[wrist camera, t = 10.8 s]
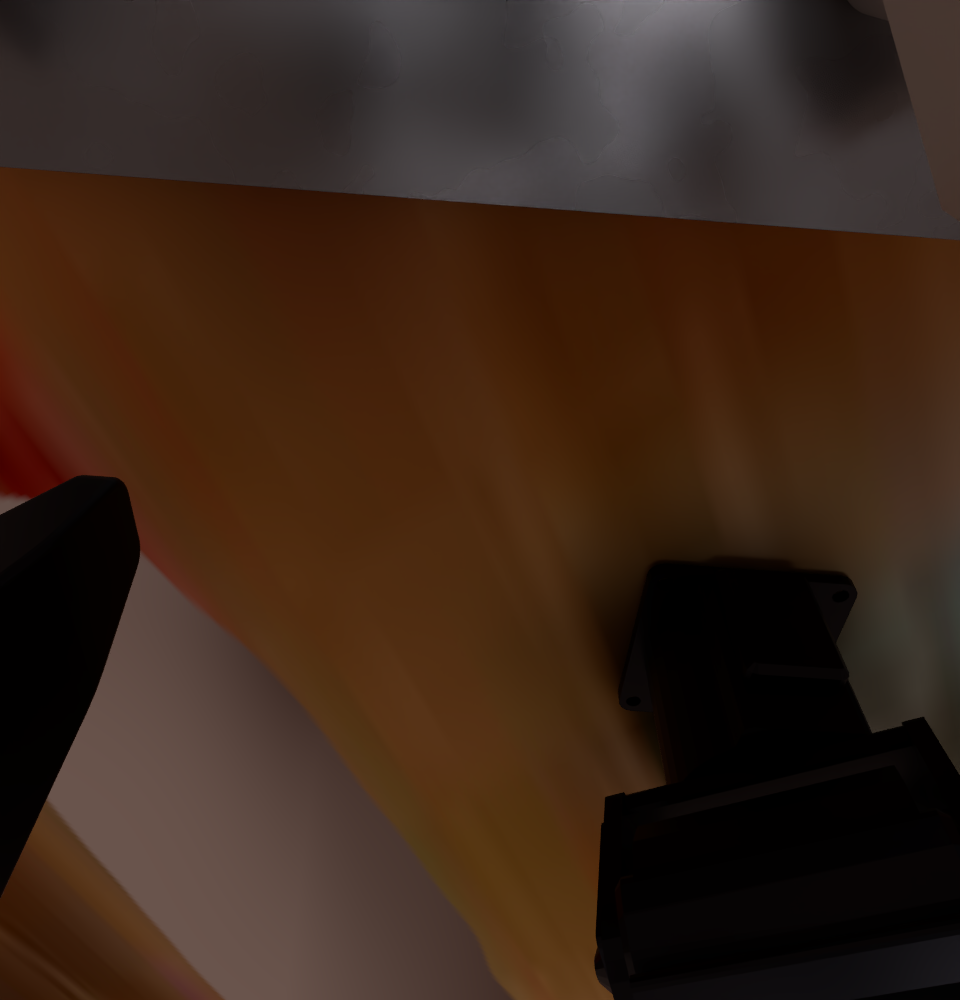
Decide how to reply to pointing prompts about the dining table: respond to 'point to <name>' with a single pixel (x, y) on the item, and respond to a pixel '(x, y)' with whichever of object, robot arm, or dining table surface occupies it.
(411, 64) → the grey board
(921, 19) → the red and white block
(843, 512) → the dining table surface
